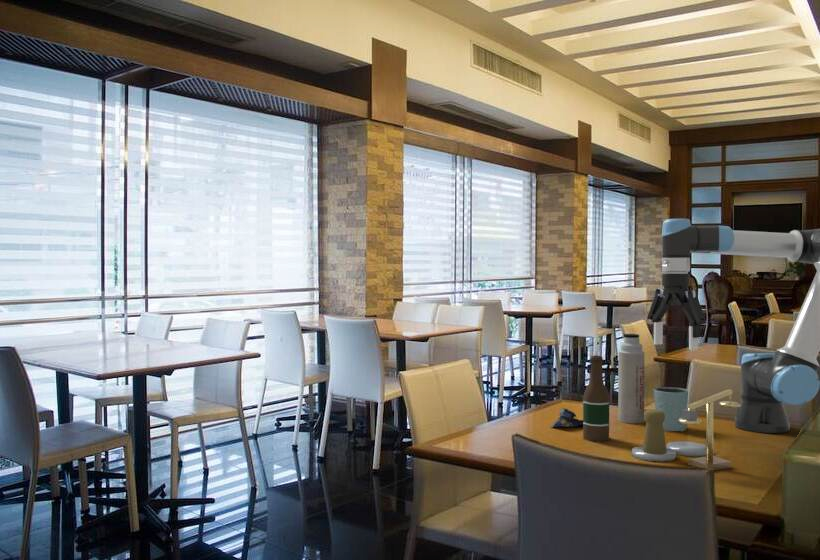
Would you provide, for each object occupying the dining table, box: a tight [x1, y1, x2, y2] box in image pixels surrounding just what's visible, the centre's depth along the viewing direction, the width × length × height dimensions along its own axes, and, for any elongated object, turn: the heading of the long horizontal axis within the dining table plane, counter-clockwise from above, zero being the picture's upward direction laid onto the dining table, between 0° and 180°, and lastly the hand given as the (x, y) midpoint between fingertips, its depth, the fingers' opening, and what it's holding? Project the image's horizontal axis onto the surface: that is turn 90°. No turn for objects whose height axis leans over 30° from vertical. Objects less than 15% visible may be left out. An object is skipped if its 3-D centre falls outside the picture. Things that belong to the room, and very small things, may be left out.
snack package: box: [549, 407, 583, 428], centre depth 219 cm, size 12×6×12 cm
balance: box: [679, 388, 741, 471], centre depth 175 cm, size 19×6×19 cm, turn 114°
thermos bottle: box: [617, 333, 646, 424], centre depth 226 cm, size 8×8×28 cm
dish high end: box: [666, 440, 706, 458], centre depth 190 cm, size 11×11×1 cm
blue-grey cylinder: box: [653, 386, 689, 432], centre depth 216 cm, size 10×10×12 cm
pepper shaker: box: [642, 408, 667, 454], centre depth 185 cm, size 6×6×11 cm
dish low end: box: [631, 445, 677, 463], centre depth 185 cm, size 11×11×1 cm
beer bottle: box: [582, 355, 610, 443], centre depth 203 cm, size 8×8×24 cm
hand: (675, 346), depth 202 cm, fingers open, 13 cm apart
